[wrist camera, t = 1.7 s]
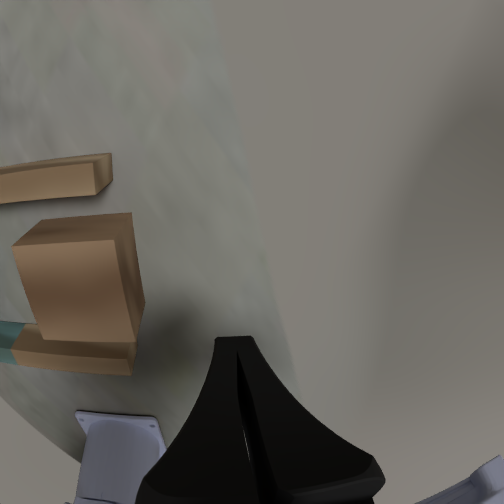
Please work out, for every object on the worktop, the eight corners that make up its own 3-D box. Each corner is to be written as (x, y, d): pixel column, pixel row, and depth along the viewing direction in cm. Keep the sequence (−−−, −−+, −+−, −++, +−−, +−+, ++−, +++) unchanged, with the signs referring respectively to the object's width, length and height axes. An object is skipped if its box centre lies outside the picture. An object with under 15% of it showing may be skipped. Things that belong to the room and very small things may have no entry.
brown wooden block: (145, 301, 20) (135, 342, 16) (64, 302, 19) (43, 339, 15) (132, 211, 17) (113, 239, 13) (43, 218, 16) (11, 246, 13)
